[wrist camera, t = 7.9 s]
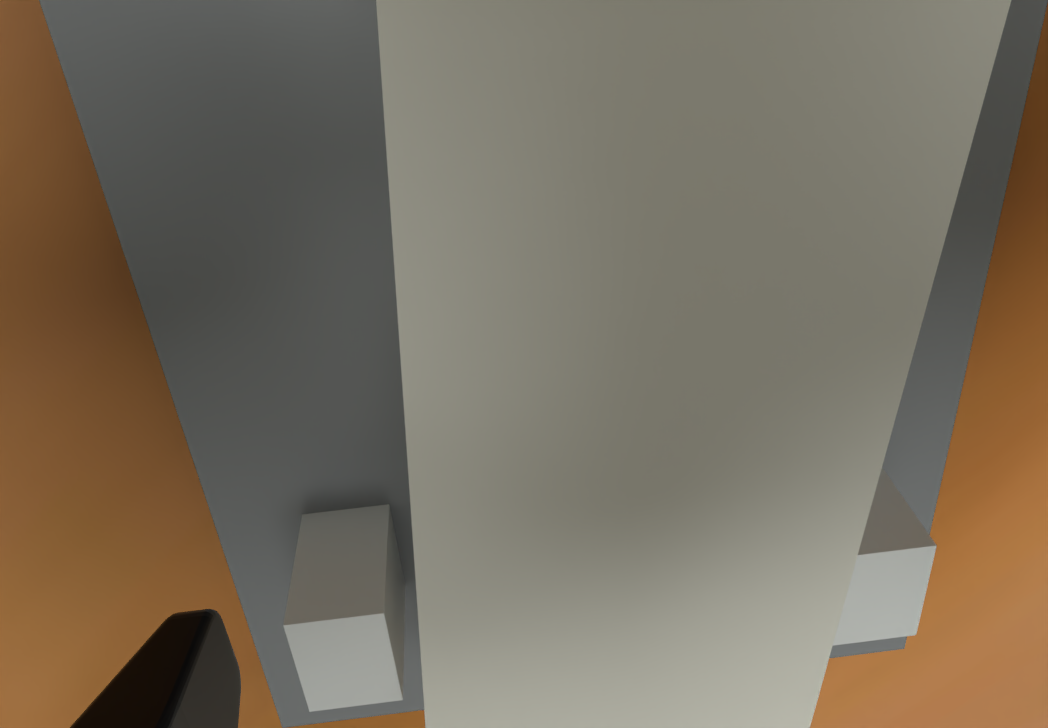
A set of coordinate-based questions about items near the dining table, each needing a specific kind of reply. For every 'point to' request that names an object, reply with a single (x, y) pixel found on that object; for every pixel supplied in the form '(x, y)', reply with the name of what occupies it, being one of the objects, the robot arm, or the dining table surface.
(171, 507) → the dining table surface
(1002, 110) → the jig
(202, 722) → the robot arm
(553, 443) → the white block
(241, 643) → the dining table surface
